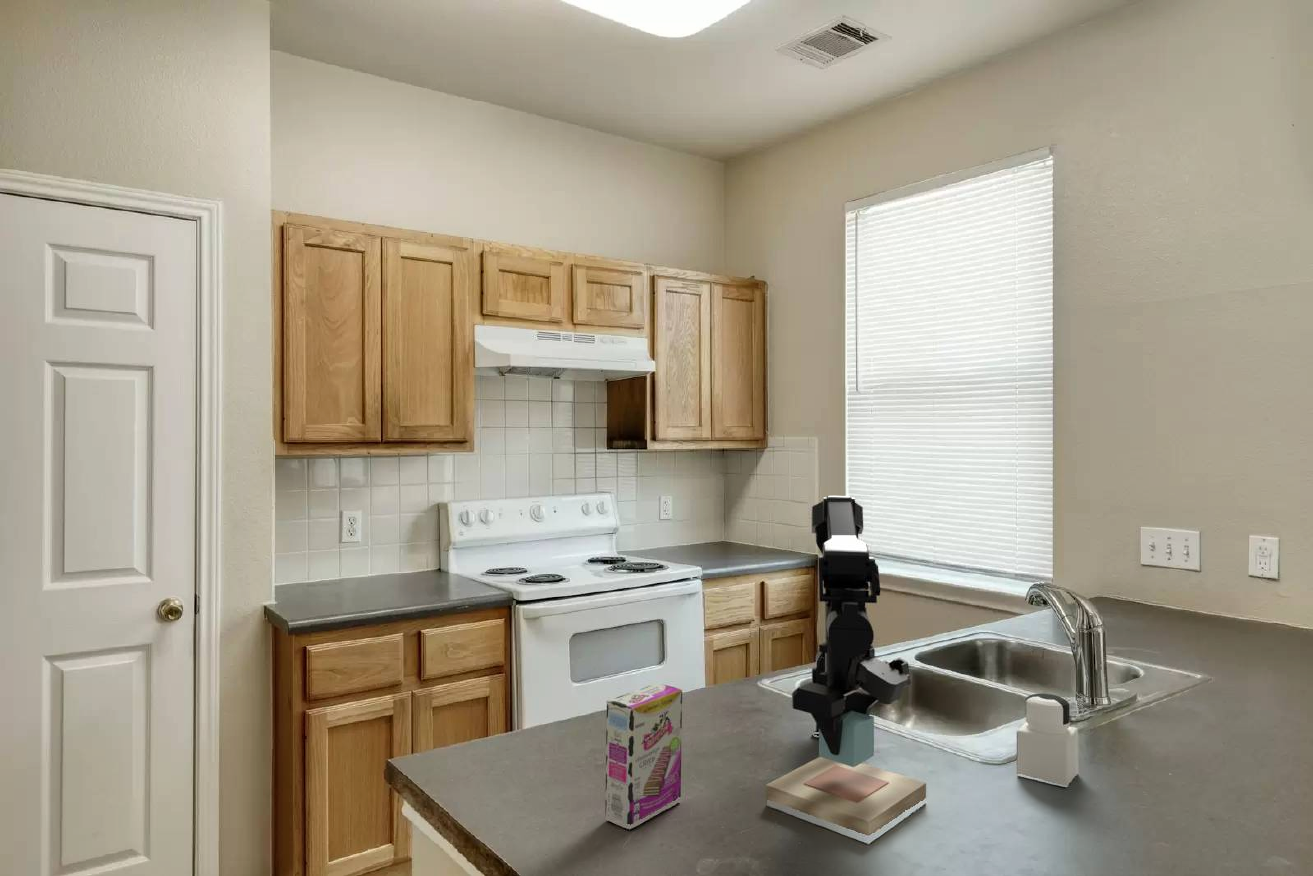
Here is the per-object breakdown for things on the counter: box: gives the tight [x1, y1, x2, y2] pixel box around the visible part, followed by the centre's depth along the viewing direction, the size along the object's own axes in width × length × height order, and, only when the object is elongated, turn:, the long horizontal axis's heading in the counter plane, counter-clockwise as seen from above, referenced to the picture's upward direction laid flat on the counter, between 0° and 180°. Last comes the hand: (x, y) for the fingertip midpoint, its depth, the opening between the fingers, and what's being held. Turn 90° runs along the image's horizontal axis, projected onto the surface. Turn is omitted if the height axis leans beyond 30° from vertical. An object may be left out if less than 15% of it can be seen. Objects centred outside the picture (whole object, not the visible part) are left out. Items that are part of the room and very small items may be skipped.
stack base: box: [765, 756, 927, 836], centre depth 115 cm, size 16×16×3 cm
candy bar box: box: [604, 682, 683, 825], centre depth 113 cm, size 11×5×16 cm, turn 141°
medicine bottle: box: [1016, 692, 1079, 786], centre depth 125 cm, size 7×7×12 cm
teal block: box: [818, 711, 875, 767], centre depth 115 cm, size 6×6×6 cm
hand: (846, 748), depth 115 cm, fingers closed on teal block, 5 cm apart
